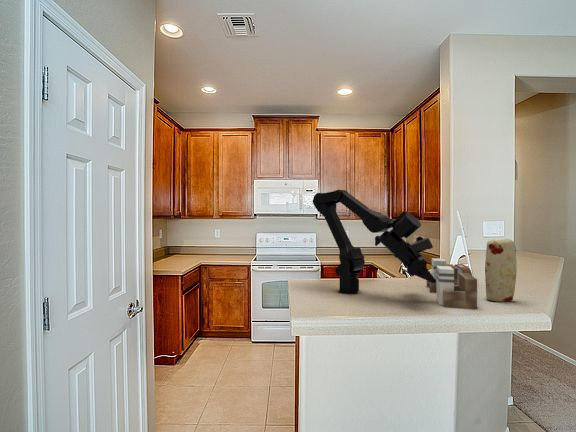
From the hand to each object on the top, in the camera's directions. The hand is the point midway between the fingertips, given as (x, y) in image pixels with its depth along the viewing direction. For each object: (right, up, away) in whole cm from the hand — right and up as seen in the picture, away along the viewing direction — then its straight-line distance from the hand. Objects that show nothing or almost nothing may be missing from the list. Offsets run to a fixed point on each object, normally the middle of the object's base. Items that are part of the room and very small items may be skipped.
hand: (434, 281), depth 104 cm
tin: (+20, -6, +21) cm, 29 cm away
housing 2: (+6, -7, -2) cm, 9 cm away
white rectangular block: (+3, -6, -1) cm, 7 cm away
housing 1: (+9, -6, +16) cm, 19 cm away
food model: (+22, -7, +2) cm, 23 cm away
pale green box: (+9, -6, +16) cm, 19 cm away
